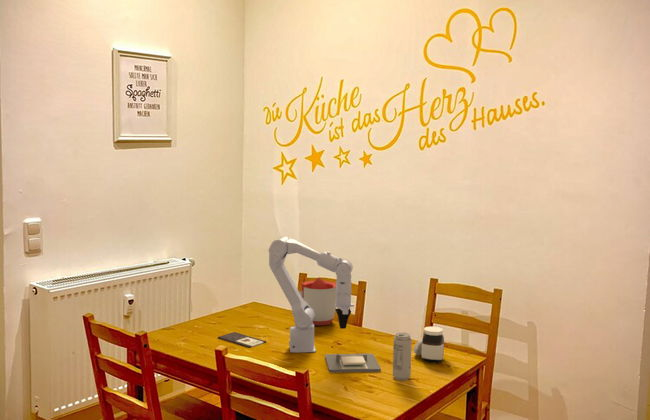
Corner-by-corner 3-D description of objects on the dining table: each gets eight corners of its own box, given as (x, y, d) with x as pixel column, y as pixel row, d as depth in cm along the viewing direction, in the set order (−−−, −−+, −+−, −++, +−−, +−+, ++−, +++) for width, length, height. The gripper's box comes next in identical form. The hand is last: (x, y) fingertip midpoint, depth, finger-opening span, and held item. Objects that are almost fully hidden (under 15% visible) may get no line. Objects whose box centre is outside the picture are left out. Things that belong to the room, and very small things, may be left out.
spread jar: (440, 365, 236) (441, 334, 235) (409, 361, 240) (410, 330, 238) (446, 355, 247) (447, 325, 246) (416, 351, 251) (417, 321, 250)
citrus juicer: (295, 317, 294) (296, 273, 292) (334, 317, 296) (334, 273, 294) (297, 328, 279) (298, 281, 276) (338, 327, 281) (339, 281, 278)
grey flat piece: (329, 372, 227) (329, 364, 227) (324, 357, 243) (325, 349, 242) (380, 371, 229) (381, 363, 228) (373, 356, 244) (373, 348, 244)
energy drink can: (413, 379, 222) (415, 336, 220) (397, 382, 219) (398, 338, 218) (405, 373, 227) (406, 331, 225) (389, 375, 225) (390, 333, 223)
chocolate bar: (234, 331, 270) (265, 341, 258) (234, 334, 270) (265, 343, 259) (217, 336, 263) (249, 346, 252) (217, 339, 263) (249, 349, 252)
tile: (340, 356, 236) (340, 358, 236) (343, 362, 229) (343, 364, 229) (362, 356, 237) (362, 358, 237) (365, 362, 230) (365, 364, 230)
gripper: (356, 297, 239) (355, 333, 241) (351, 288, 253) (350, 322, 255) (337, 297, 238) (336, 333, 240) (333, 288, 253) (332, 322, 254)
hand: (342, 328), depth 247 cm, fingers closed
